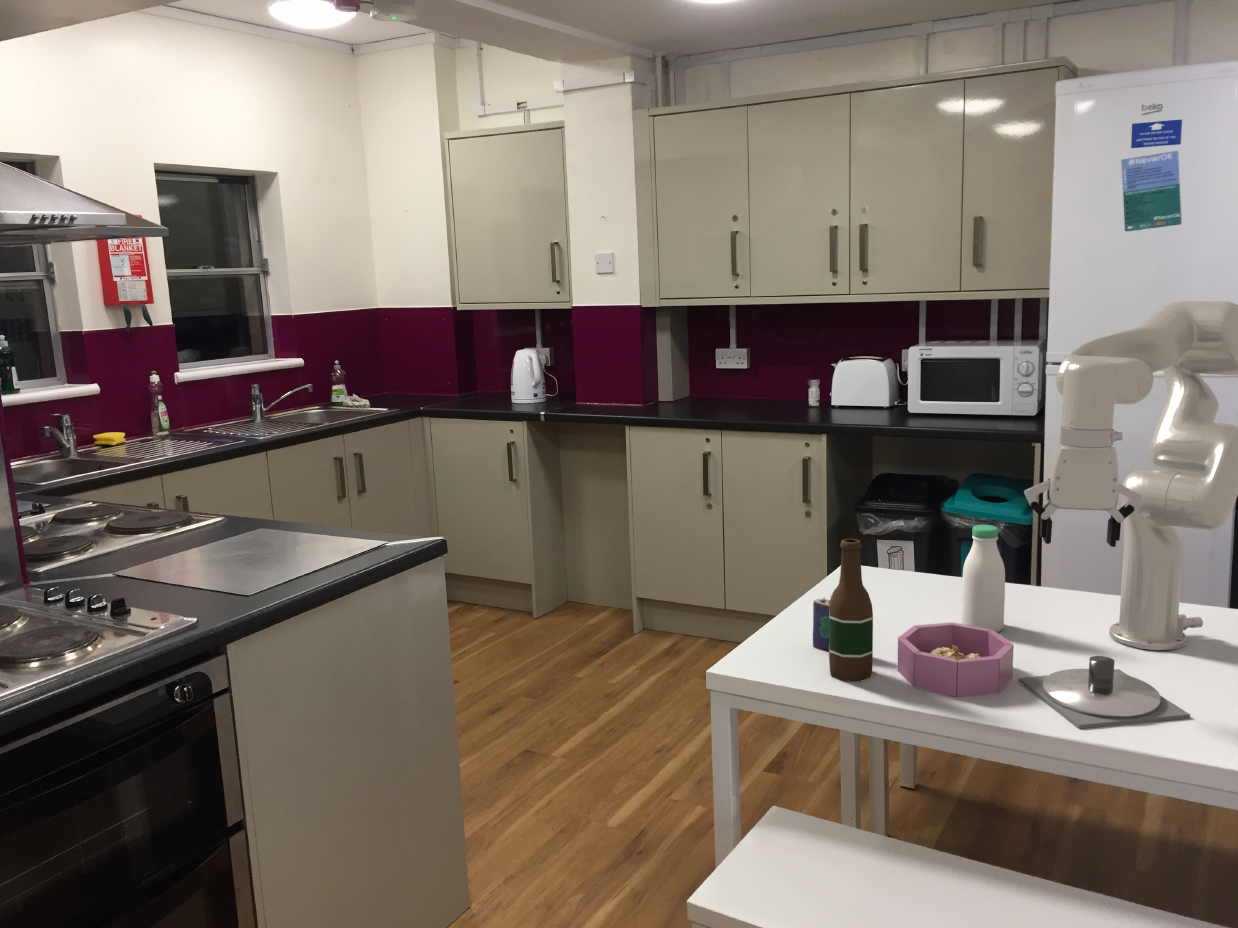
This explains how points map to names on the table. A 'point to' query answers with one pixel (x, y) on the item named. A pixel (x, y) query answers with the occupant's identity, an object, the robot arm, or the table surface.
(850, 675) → the beer bottle
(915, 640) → the pink octagonal dish
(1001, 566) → the milk bottle
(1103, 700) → the lid
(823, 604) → the flask
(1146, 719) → the mat
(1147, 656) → the table surface
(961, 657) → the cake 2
